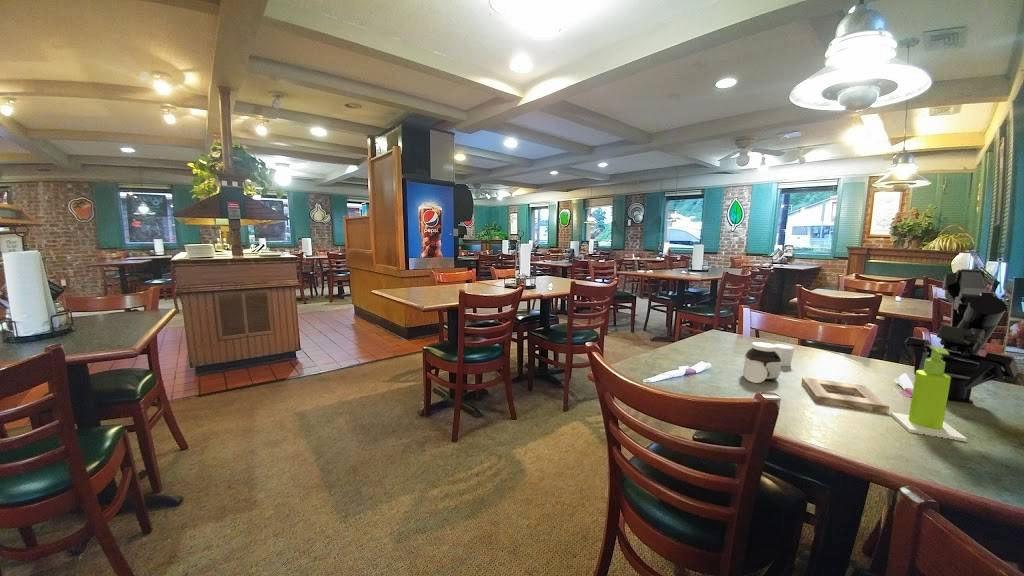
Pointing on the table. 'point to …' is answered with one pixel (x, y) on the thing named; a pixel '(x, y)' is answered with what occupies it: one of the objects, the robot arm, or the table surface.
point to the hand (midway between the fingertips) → (939, 381)
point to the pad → (914, 428)
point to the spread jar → (762, 363)
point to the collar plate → (862, 401)
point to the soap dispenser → (930, 392)
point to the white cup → (785, 353)
